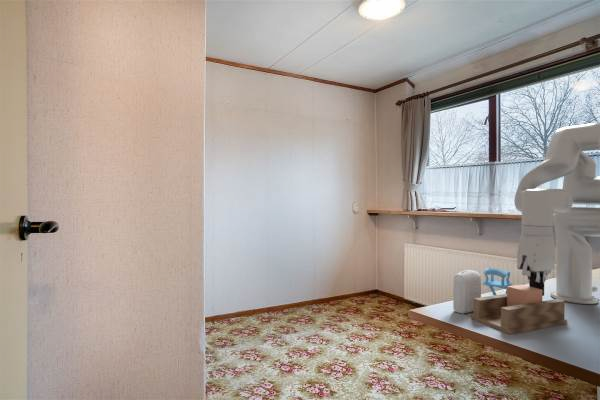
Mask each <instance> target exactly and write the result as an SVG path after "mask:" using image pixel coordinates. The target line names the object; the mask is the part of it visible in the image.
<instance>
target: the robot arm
mask: <svg viewBox="0 0 600 400" xmlns="http://www.w3.org/2000/svg"><path fill="white" fill-rule="evenodd" d="M599 150H600V122H593V123H586V124H580V125H578V124H577V125H573V126H572V125H570V126H565V127H561V128H559V129H557V130H555V132H554V133H552V135H551V139H550V142H549V144H548V147H547V150H546V152H545V153H546V154H545V156H544V158H543V161H542V162H541V163H539V164H538V165H536V166H535V167H533V168H532V169H531V170H529V171H528V172H527V173H526V174H525V175H523V176H522V178H520V181H519V183H518V186H517V188H516V192H515V196H514V206H515V208H516V210H518V211H519V212H521V235H520V237H519V240H518V245H517V252H516V253H517V254H516V255H517V256H516V267H517V269H519V270H522V271H521V275H523V276H525V277H527V280H528V283H529V284H528V286H530V287H534V288H538V289H542V297H544V296H545V282H546V280H547V276H548V275H549V274H551V273H552V270H554V269H555V266H556V269H555V270H556V273H555V274H556V275H555V277H556V278H555V280H556V281H555V288H556V289H555V290H552V291H550V296H551V297H552V298H553V299H559V300H563V301H565V302H568V303H573V304H579V305H580V304H582V305H583V304H584V305H595V304H598V303H599V299H598V298H597V297H596V296H593V293H596V292H598V290H599V289H598V287H596V286H595V285H593V249H592V247H591V245H590V243H589V242H588V241H587V239H585V238H584V237H599V238H600V207H587V206H586V205H588V206H589V205H590V206H591V205H592V206H600V176H596V171H597V164H596V162H595V161H594V160H593V158H591V157H590V156H589V155H588V154H586V153H584V152H587V151H590V152H591V151H599ZM561 178H563V182H562V188H538V187H539V186H541V185H544V184H546V183H550V182H552V181H555V180H558V179H561ZM573 205H578V206H573ZM579 205H585V206H586V207H585V206H584V207H583V206H579ZM554 231H555V232H554ZM554 233H555V239H556V242H554V241H555V240H554ZM555 244H556V251H555ZM555 264H556V265H555Z"/></svg>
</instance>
